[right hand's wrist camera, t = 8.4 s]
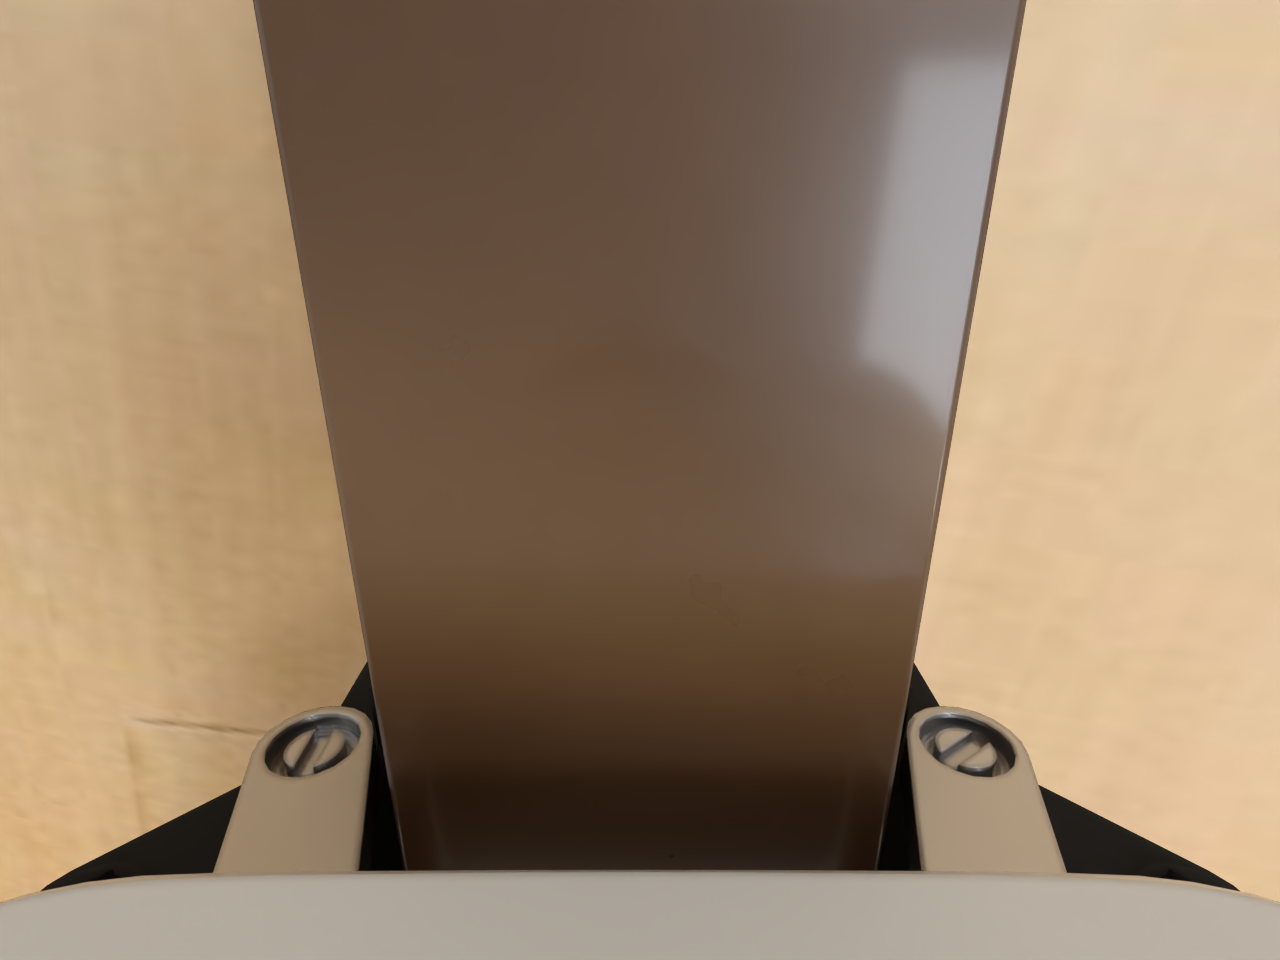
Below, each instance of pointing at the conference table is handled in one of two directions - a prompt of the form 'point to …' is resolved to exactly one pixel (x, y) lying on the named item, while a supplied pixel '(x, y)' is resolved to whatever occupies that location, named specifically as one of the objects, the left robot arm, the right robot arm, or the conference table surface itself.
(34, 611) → the conference table surface
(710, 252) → the bar
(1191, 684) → the conference table surface
